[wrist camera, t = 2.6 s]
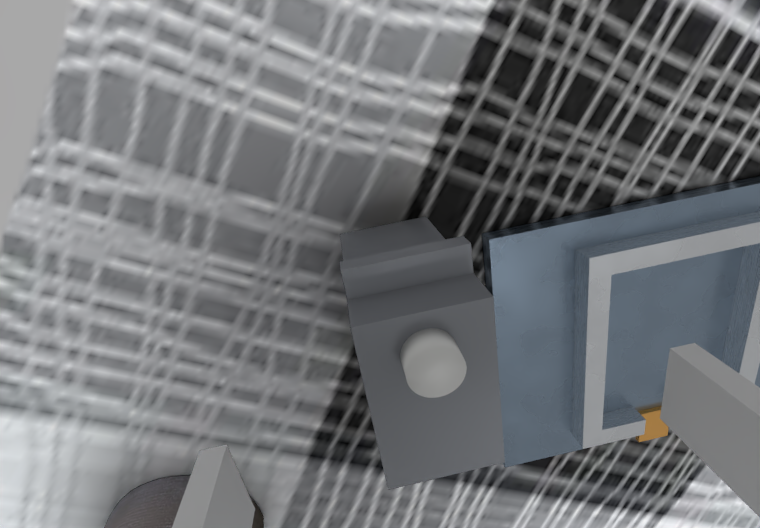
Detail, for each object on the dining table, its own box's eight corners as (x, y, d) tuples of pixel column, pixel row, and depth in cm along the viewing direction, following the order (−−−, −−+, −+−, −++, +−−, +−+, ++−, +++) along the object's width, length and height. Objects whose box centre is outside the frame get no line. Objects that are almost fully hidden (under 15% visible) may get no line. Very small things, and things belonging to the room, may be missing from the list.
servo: (369, 365, 24) (397, 536, 14) (335, 212, 20) (344, 312, 11) (443, 348, 24) (517, 507, 15) (423, 195, 20) (505, 277, 11)
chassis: (499, 457, 28) (512, 485, 26) (482, 233, 21) (498, 247, 19) (774, 392, 29) (808, 414, 27) (837, 159, 22) (888, 166, 20)
